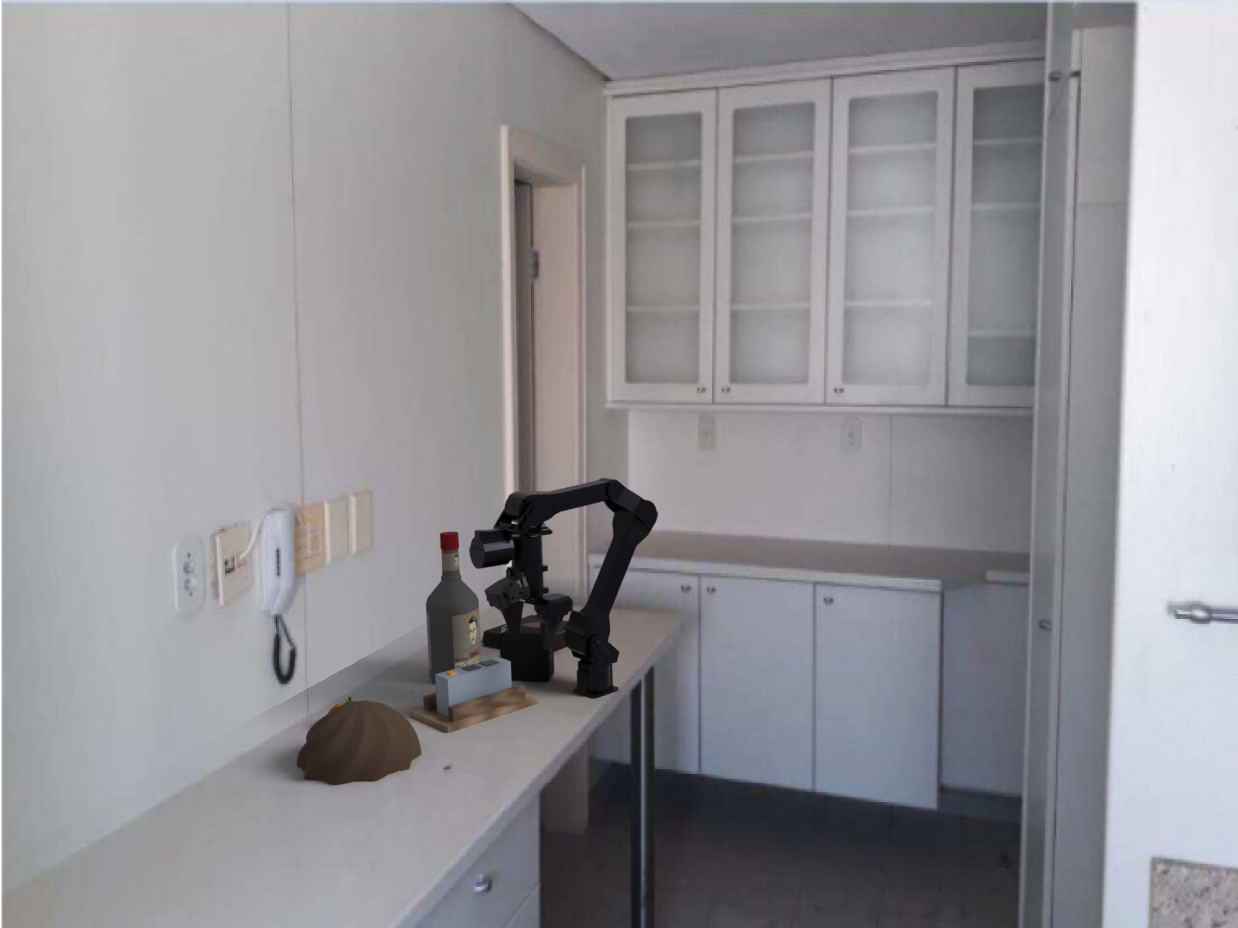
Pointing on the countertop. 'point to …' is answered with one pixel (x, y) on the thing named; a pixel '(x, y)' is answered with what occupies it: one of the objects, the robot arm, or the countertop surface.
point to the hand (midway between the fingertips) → (530, 644)
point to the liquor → (452, 615)
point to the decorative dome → (358, 744)
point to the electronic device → (527, 655)
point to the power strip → (471, 682)
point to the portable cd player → (493, 635)
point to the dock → (473, 709)
